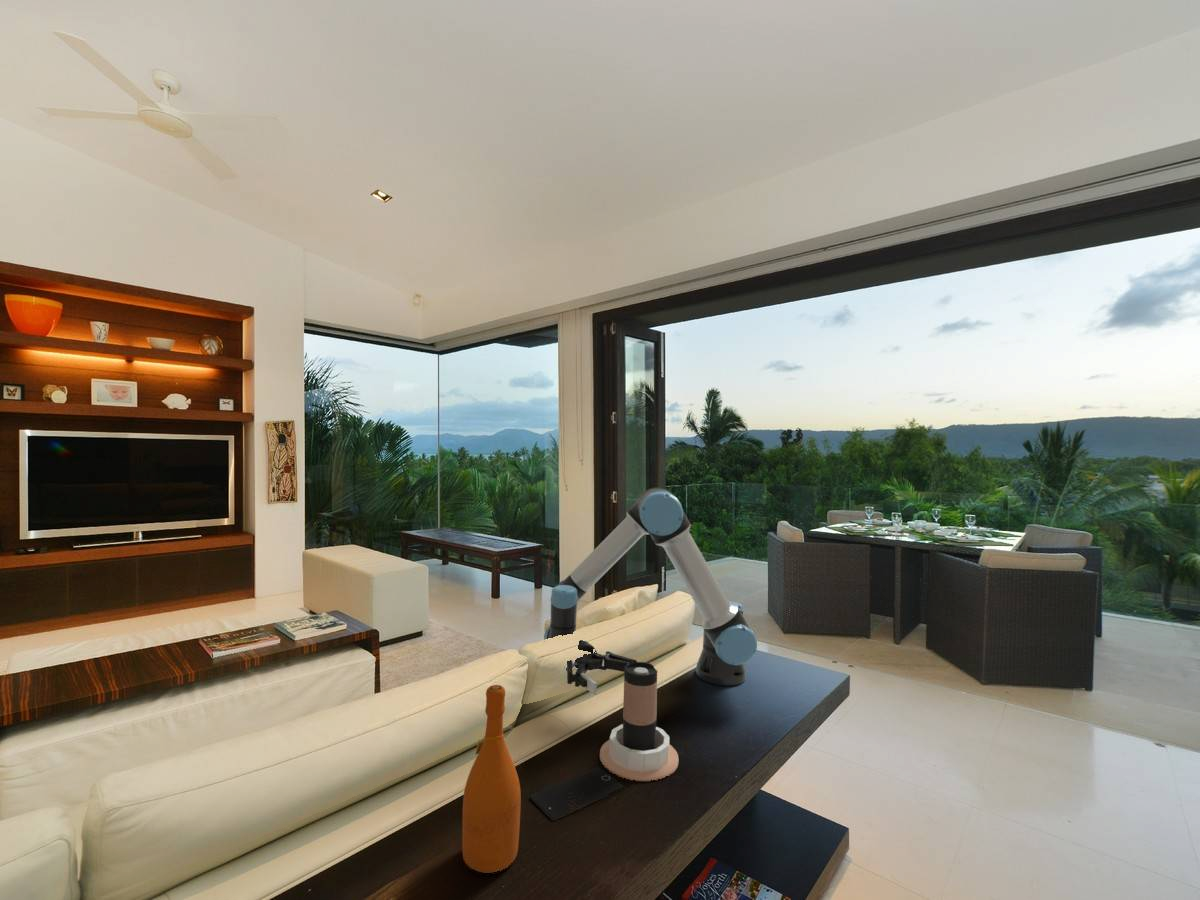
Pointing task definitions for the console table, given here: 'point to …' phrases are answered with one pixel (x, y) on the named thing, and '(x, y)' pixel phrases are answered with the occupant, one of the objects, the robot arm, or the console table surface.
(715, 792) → the console table surface
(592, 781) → the cell phone
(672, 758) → the white and pink ring
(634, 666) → the travel mug
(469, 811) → the wine bottle
